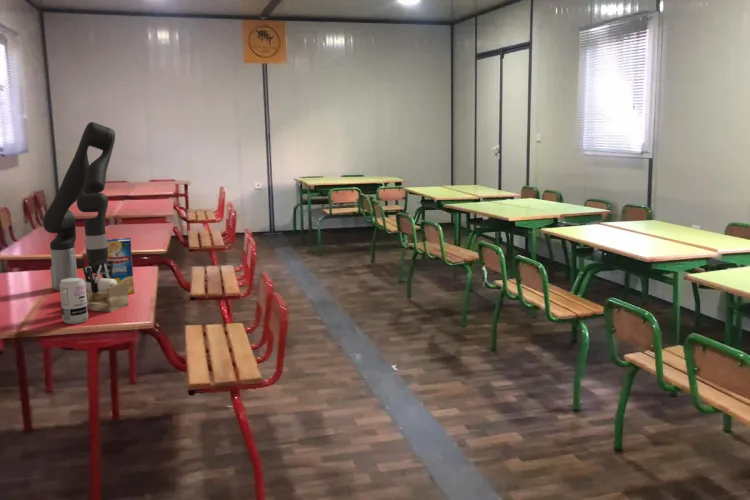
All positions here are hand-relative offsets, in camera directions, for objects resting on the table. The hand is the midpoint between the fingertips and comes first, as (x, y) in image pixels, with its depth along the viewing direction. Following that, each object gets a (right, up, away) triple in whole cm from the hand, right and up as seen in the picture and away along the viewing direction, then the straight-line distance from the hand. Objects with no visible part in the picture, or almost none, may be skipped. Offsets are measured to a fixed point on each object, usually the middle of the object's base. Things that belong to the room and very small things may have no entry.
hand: (100, 290), depth 254 cm
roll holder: (0, -6, +1) cm, 6 cm away
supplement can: (-2, -10, -17) cm, 20 cm away
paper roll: (0, -1, 0) cm, 1 cm away
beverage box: (-1, -3, +22) cm, 22 cm away
